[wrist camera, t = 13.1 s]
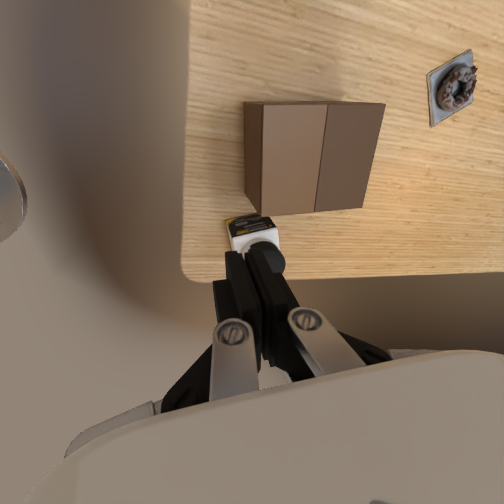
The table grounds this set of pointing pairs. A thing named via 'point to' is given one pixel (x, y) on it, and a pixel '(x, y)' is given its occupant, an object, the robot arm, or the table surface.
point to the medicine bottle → (256, 238)
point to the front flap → (291, 157)
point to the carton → (324, 152)
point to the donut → (451, 87)
